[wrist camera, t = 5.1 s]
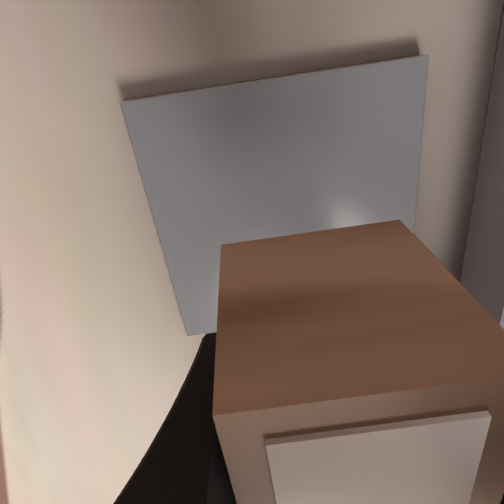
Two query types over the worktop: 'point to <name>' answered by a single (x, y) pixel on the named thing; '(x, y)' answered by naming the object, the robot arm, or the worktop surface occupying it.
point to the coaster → (275, 163)
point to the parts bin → (489, 205)
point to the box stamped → (355, 373)
